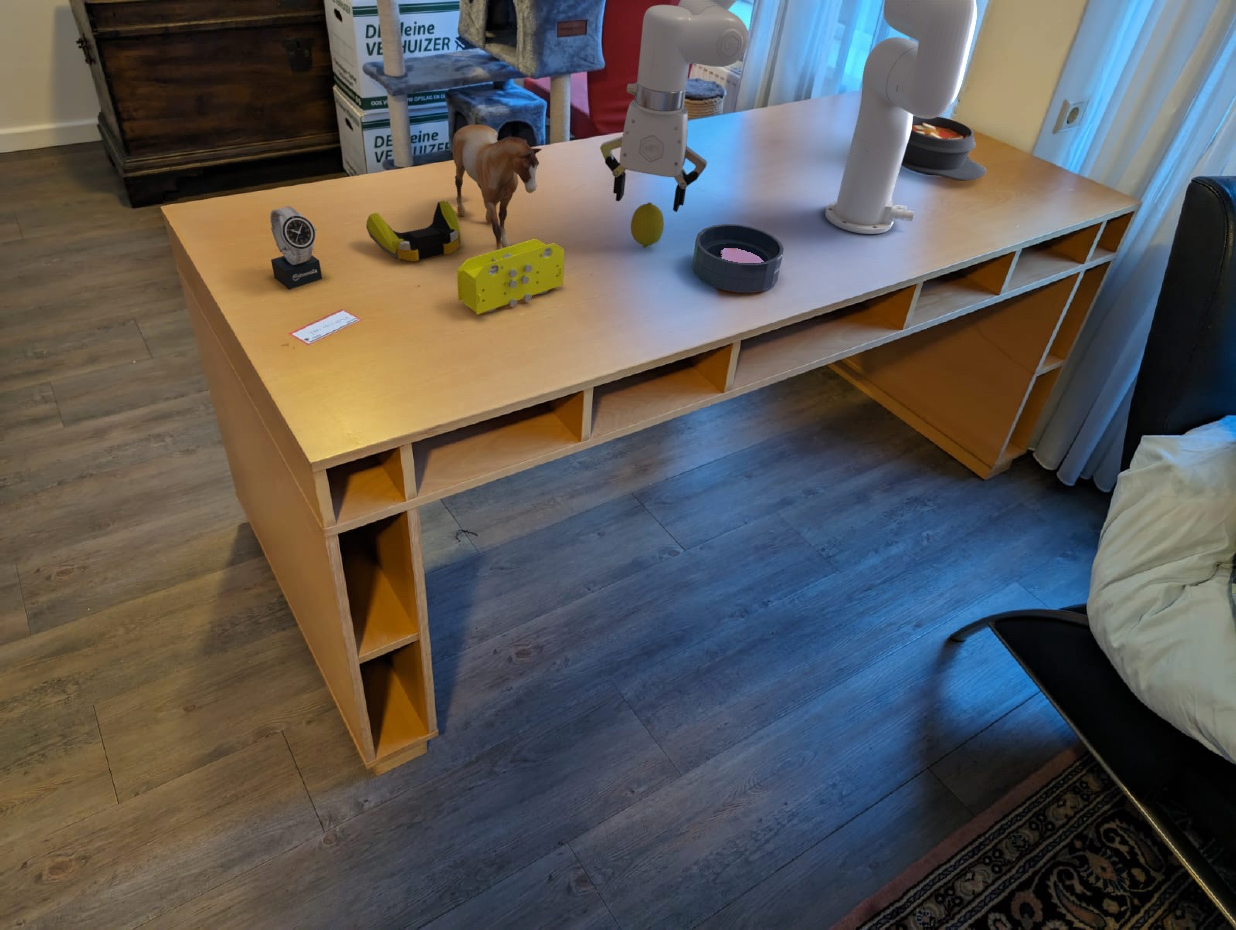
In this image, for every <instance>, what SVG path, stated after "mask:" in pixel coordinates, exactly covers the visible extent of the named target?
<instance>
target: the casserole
mask: <svg viewBox="0 0 1236 930" xmlns="http://www.w3.org/2000/svg"><path fill="white" fill-rule="evenodd" d="M976 147H977V143H976V141H975V133H974V130H973V129H972V128H970V127H969V126H968V125H965V124H964V123H961V122H959V121H957V120H953V119H950V118H946V117H942V116H938V117H936V118H932V119H923V118H919V117H916V116H914V115H912V128H911V133H910V137H909V140H908V143H907V146H906V150H905V153H904V156H903V160H902V163H901V166H902V167H903V168H905V169H907V170H909V171H911V172H915V173H918V174H922V175H926V176H934V177H937V176H938V177H942V178H946V179H950V180H954V181H963V182H964V181H972V180H977V179H979V178H982V177H983V176H985V175H986V174H987V169H986V167H984V166H983V165H981V164H980V163H978V162H976V161H974V160H973V159H971V158H970V157H969V155H970V153H971V151H973V150H974V149H975V148H976Z"/></svg>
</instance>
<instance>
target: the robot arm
mask: <svg viewBox="0 0 1236 930" xmlns="http://www.w3.org/2000/svg"><path fill="white" fill-rule="evenodd" d="M737 1H738V0H679V3H678V5H672V4H671V5H670V4H658V5H657V4H656V5H653V6H650V7H649V8H647V10H645V13H644V14H643V15H644V16H643V20H642V27H641V28H642V29H641V40H640V50H639V59H638V69H637V70H638V71H637V79H636V80H637V81H635V83H627V86H626V93H628V94H631V95H633V98H634V99H633V100H632V101H630V103H629V105H628V108H627V112H626V116H625V121H624V125H623V132H622V136H619V137H616V138H613V139H610V140H608V141H605V142H602V144H601V145H600V148H599V149H600V152H601V154H602V157H603V159H604V163H605V164H606V166H607V167H608V169H609V170H610V171H611V173H612V176H613V177H614V178H613V191H612V193H613V194H614V195H615V201H616V202H620V201H622V199H623V197H624V195H625V186H626V177H627V173H626V171H631V172H636V173H641V174H646V175H653V176H658V177H665V178H674V180H675V182H676V183H677V185H676V186H675V187H676V188H675V190H674V191H675V192H674V198H673V199H674V200H673V205H672V206H673V207H672V211H673V212H676V213H677V212H678V210H679V208H680V206H684V204H685V199H686V192H687V187H688V186H690V185H691V184H692V183H694V182H695V181H697V180H698V179H699V177H700V176H701V174H702V173H703V172H704V171H705V169H706V167H707V165H708V161H707V160H706V159H705V158H703V157H702V156H701V155H700V154H698V153H697V152H695V151H694V150H693V149H691V148H690V147H689V146H688V137H689V136H688V135H689V132H688V131H689V116H688V115H689V113H688V107H687V106H685V100H686V91H687V85H688V84H687V83H688V77H689V70H690V65H691V64H694V65H701V66H708V67H712V68H713V67H715V68H723V67H729V66H731V65H734V64H735V63H737V62H738V61H740V60H741V59H742V57H744V55H745V53H746V52H747V49H748V47H749V41H750V38H749V30H748V28H747V26H746V24H745V22H744V21H743V20H742V18H741V17H739V16H738V15H737V14H735V13H734V12H732V11H730V9H731V7H732V6H733V5H735V4H736V2H737ZM977 17H978V6H977V0H884V2H883V18H884V21H885V22H886V24H887V25H888V26H889V27H890V28H892V29H893V30H895V31H897V32H898V33H900V34H902V35H904V36H907V37H908V38H910V39H908V38H906V37H900V36H899V37H898V36H896V37H895V36H894V37H893V36H892V37H888V38H885V39H883V40H881V41H880V42H878V43H877V44H876V45H875V46H874V47H873V48H872V49H871V50H870V52H869V53H868V56H867V58H866V60H865V63H864V66H863V72H862V81H861V96H860V104H859V109H858V114H857V119H856V122H855V128H854V132H853V135H852V139H851V143H850V146H849V151H848V155H847V159H846V162H845V167H844V171H843V175H842V179H841V182H840V186H839V190H838V194H837V199H836V201H833V202H831V203H829V204H828V205H827V206H826V208H825V213H824V215H825V218H826V219H827V221H829V223H831V224H832V225H834V226H836V227H838V228H840V229H842V230H844V231H848V232H851V233H857V234H863V235H878V234H883V233H886V232H888V231H890V229H891V228H892V227H893V224H894V221H895V220H901V221H904V222H908V223H909V222H910V223H911V222H912V221H913V218H914V216H915V211H914V210H909V209H907V208H908V206H906V205H902V204H900V205H898V204H895V202H893V194H894V190H895V187H896V183H897V180H898V176H899V173H900V170H901V163H902V160H903V156H904V153H905V150H906V146H907V143H908V140H909V137H910V133H911V128H912V116H916V117H919V118H923V119H932V118H936V117H941V115H944V113H946V111H948V109H949V108H950V107H951V106H952V105H953V103H954V102H955V100H956V98H957V96H958V94H959V92H960V88H961V85H962V82H963V78H964V75H965V71H966V66H967V62H968V57H969V54H970V49H971V45H972V42H973V37H974V32H975V28H976V22H977ZM912 39H913V40H915V41H916V42H915V41H913V40H912ZM619 148H620V152H619V161H618V159H617V158H616V157H615V156H614V155H613V151H614V150H616V149H619ZM686 160H688V161H689V162H690V163H691V164H693V165H694V166H695V167H694V169H693V170H691V171H690V172H689V173H687V172H686V170H685V169H684V167H685V163H686Z"/></svg>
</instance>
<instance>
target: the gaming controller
mask: <svg viewBox="0 0 1236 930" xmlns="http://www.w3.org/2000/svg"><path fill="white" fill-rule="evenodd" d="M365 228H366V230H367V233H368V236H369V238H371V239H372V241H374V243H375V244H376V245H377V246H378V247H379V248H380V249H381V250H382V251H383V252H385V253H387V254H389V255H390V256H391V257H393V258H395V260H397V261H409V262H417V261H421V260H425V259H426V260H427V259H430V258H435V257H439V256H444V255H450V254H452V253H453V252H455V251H456V250H457V249H458V248H459V247H460V245H461V243H462V238H461V237H462V235H461V229H460V224H459V220H458V216H457V211H456V210H455V209H454V208H453V206H452V205H451V204H450V202H449V201H448V200H441V201H438V202H437V204H436V207H435V210H434V213H433V218H432V223H431V224H429V226H427V227H425V228H419V229H413V230H409V231H408V230H407V231H402V232H400V231H396V230H393V229H392V227H391V226H390V225H389V224H388V223H387V221H386V220H385V219H384V218H383V216H382V215H381V214H380V213H379V212H373V213H371V214H369V215H368V218H367V220H366V227H365Z"/></svg>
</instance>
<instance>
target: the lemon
mask: <svg viewBox="0 0 1236 930" xmlns="http://www.w3.org/2000/svg"><path fill="white" fill-rule="evenodd" d="M664 226H665V221H664V215H663V212H662V210H661V209H660V208H659V207H658V206H657V205H656V204H653V203H652V202H647V203H644V204H640V205H639V206H638V207H637V208H636V209H635V211H634V212H633V214H632V217H631V222H630V232H631V236H632V238H633V240H634V241H635V242H636V243H637V244H638V245H641V246H642V247H643V248H648V247H650V246H653V245H655V244H656V243H657V242H658V241H660V239H661V237H662V235H663V232H664V228H665V227H664Z"/></svg>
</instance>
